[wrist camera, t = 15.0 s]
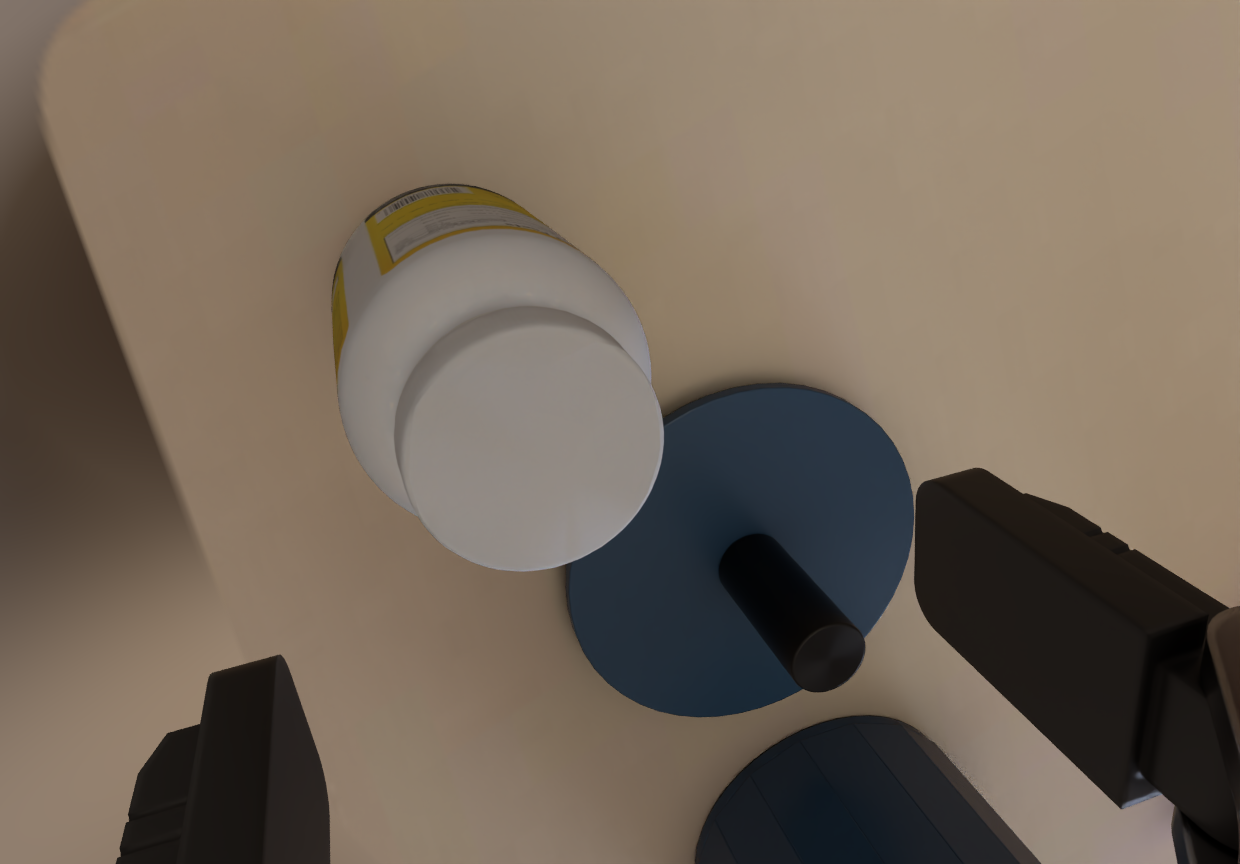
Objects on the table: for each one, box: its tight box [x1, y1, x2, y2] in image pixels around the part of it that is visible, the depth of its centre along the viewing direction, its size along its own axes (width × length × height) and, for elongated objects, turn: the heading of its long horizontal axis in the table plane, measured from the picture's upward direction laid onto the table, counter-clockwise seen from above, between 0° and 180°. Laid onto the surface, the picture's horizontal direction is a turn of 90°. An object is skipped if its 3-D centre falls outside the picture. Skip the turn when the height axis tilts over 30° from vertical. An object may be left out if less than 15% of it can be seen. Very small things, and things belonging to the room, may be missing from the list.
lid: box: [566, 383, 914, 717], centre depth 30 cm, size 13×13×7 cm
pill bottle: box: [332, 184, 664, 571], centre depth 21 cm, size 6×6×12 cm
